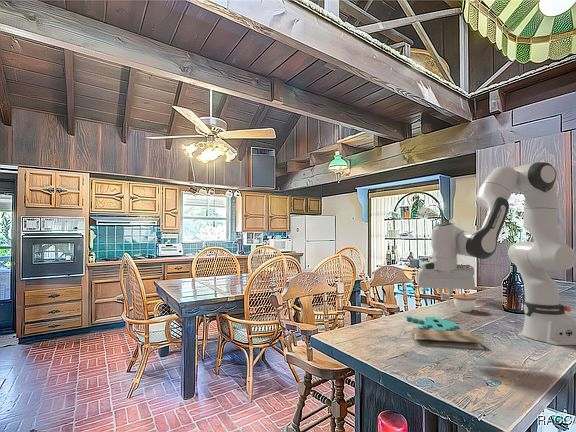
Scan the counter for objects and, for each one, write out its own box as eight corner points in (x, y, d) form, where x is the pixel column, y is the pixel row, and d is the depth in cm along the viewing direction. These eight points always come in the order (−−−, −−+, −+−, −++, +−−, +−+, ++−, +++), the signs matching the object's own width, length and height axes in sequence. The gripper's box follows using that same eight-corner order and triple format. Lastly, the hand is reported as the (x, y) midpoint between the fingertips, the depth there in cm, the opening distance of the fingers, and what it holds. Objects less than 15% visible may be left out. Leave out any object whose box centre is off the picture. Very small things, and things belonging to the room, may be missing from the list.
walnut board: (471, 337, 129) (471, 332, 129) (477, 342, 123) (476, 337, 123) (412, 333, 135) (412, 328, 135) (414, 338, 129) (414, 333, 129)
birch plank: (477, 343, 122) (476, 337, 123) (482, 342, 117) (481, 336, 118) (414, 339, 128) (414, 334, 129) (416, 338, 123) (416, 333, 124)
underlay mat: (473, 338, 129) (473, 336, 129) (484, 350, 116) (484, 349, 116) (411, 334, 135) (411, 333, 135) (415, 346, 122) (415, 344, 122)
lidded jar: (469, 314, 163) (468, 296, 163) (449, 310, 172) (449, 292, 173) (480, 311, 168) (479, 293, 169) (461, 307, 178) (460, 290, 178)
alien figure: (414, 334, 137) (464, 336, 133) (414, 329, 137) (463, 331, 133) (406, 320, 157) (449, 322, 153) (406, 316, 157) (449, 317, 153)
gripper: (471, 263, 123) (472, 299, 122) (415, 263, 128) (416, 297, 127) (476, 265, 117) (478, 303, 116) (418, 264, 122) (419, 300, 121)
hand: (445, 299), depth 122 cm, fingers closed
